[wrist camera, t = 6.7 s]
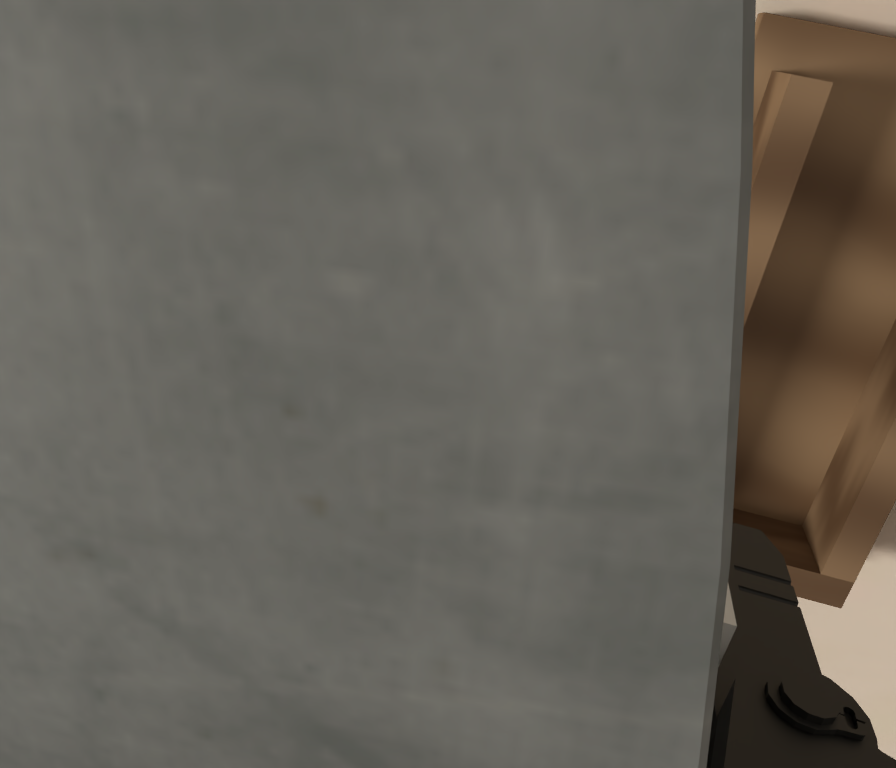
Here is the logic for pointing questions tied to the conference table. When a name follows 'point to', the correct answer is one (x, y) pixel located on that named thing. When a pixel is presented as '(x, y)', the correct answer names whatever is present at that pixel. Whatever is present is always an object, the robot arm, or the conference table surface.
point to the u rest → (820, 302)
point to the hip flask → (369, 379)
